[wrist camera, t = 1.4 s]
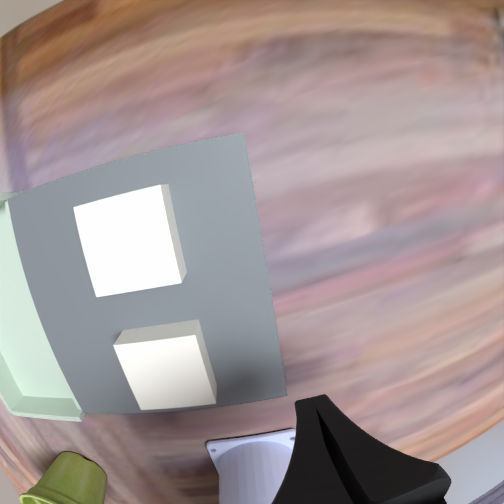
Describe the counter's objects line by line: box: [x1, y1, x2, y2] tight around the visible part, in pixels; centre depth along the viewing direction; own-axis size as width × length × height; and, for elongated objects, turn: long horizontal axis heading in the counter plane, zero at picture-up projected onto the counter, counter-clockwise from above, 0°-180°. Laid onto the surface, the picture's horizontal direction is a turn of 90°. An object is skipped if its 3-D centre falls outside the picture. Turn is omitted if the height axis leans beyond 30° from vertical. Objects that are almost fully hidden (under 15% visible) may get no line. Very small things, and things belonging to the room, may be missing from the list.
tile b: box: [73, 184, 187, 297], centre depth 16 cm, size 5×5×2 cm
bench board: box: [8, 133, 287, 414], centre depth 19 cm, size 17×16×2 cm
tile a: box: [113, 319, 217, 410], centre depth 18 cm, size 5×5×2 cm
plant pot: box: [19, 452, 107, 504], centre depth 20 cm, size 9×9×9 cm
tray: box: [0, 191, 85, 422], centre depth 18 cm, size 18×9×3 cm, turn 10°
